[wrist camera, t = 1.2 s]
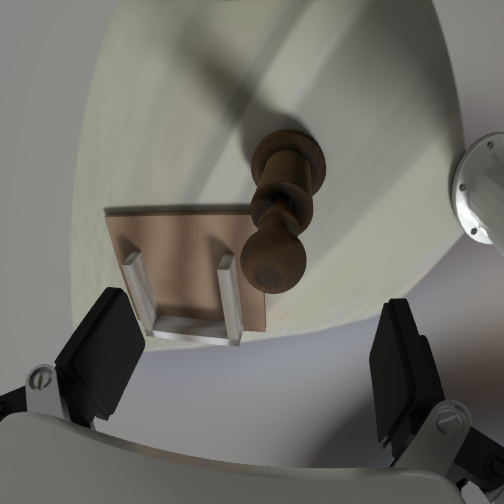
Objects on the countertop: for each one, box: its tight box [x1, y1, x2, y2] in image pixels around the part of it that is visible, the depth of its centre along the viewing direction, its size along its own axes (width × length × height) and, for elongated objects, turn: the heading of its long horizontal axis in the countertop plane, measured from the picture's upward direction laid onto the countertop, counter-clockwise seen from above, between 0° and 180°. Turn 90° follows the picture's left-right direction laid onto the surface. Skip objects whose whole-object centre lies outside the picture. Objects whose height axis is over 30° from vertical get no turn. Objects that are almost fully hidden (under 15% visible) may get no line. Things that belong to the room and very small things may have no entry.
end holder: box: [105, 211, 266, 346], centre depth 35 cm, size 18×16×4 cm
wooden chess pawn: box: [240, 130, 326, 294], centre depth 21 cm, size 7×6×18 cm
